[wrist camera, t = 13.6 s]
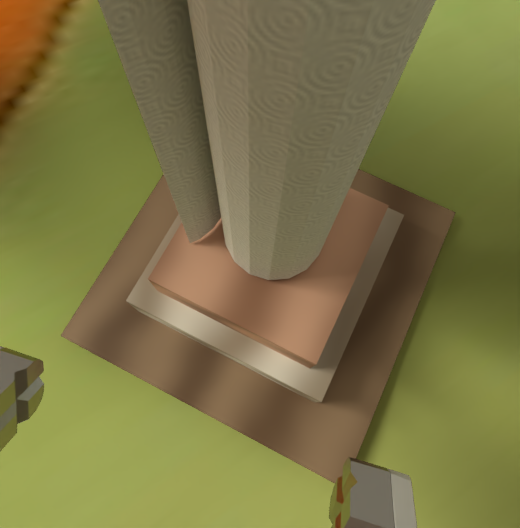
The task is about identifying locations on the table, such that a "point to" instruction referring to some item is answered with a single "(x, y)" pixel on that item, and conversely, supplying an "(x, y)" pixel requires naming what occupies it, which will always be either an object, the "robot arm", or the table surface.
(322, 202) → the paper towel roll
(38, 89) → the table surface
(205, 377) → the brown square stepped pedestal
